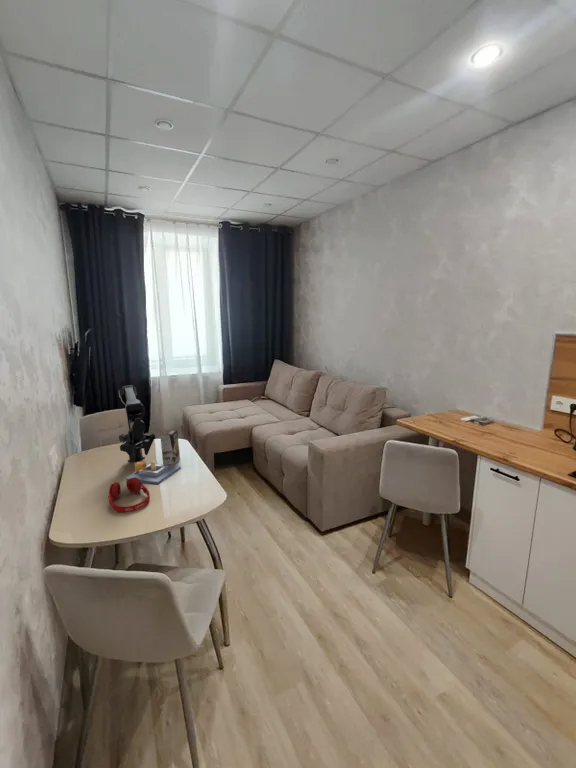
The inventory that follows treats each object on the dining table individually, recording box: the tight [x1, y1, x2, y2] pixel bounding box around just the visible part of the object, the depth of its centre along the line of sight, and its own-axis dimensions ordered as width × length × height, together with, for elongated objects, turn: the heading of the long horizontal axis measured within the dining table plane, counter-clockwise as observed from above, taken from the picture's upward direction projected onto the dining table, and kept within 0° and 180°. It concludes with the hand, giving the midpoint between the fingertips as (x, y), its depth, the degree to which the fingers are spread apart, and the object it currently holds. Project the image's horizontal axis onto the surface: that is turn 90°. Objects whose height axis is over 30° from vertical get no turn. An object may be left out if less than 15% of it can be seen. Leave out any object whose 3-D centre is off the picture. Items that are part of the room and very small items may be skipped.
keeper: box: [125, 460, 181, 485], centre depth 177 cm, size 18×18×7 cm
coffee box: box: [159, 429, 181, 466], centre depth 192 cm, size 9×6×16 cm
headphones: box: [107, 477, 151, 513], centre depth 152 cm, size 15×7×20 cm
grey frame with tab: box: [134, 461, 168, 477], centre depth 178 cm, size 15×8×4 cm, turn 73°
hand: (140, 458), depth 179 cm, fingers open, 9 cm apart
